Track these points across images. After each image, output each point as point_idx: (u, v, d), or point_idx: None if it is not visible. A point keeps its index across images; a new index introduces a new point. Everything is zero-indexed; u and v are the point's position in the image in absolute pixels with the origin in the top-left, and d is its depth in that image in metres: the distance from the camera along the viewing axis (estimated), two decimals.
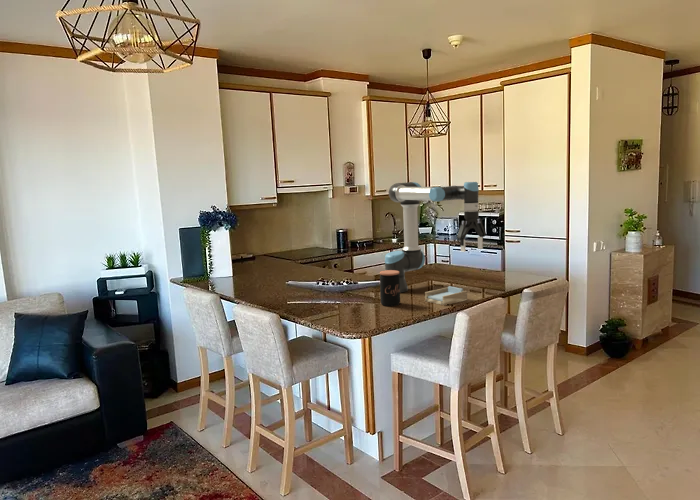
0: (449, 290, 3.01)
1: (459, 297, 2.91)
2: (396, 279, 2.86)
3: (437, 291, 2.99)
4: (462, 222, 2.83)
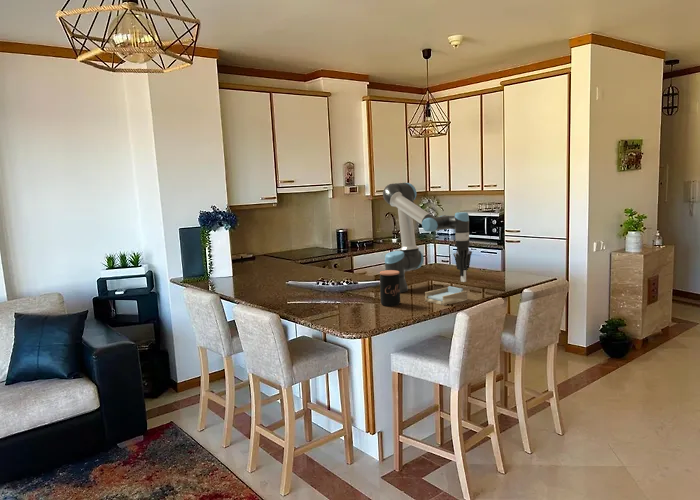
0: (449, 290, 3.01)
1: (459, 297, 2.91)
2: (396, 279, 2.86)
3: (437, 291, 2.99)
4: (455, 255, 2.96)
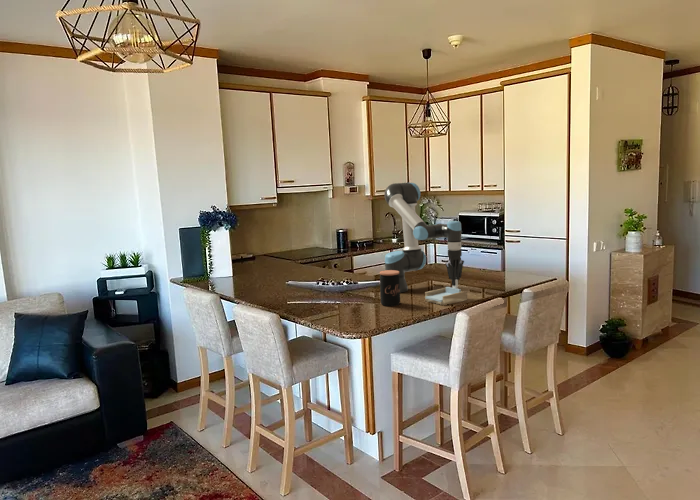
0: (447, 290, 3.01)
1: (459, 297, 2.91)
2: (396, 279, 2.86)
3: (437, 291, 2.99)
4: (447, 265, 2.93)
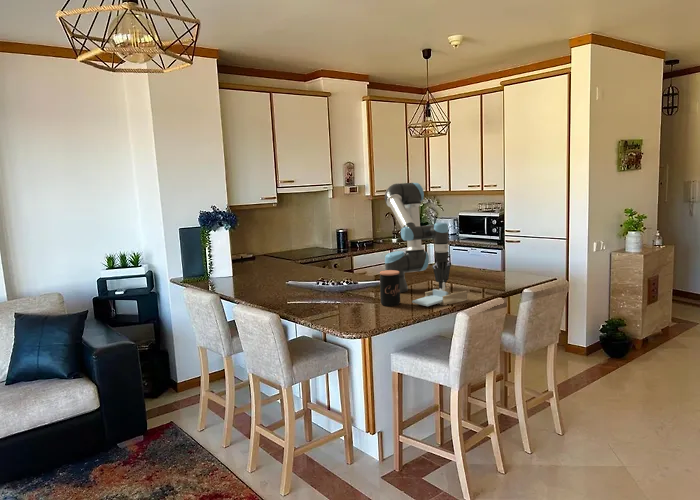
0: (434, 293, 2.95)
1: (459, 297, 2.91)
2: (396, 279, 2.86)
3: None
4: (433, 267, 2.87)
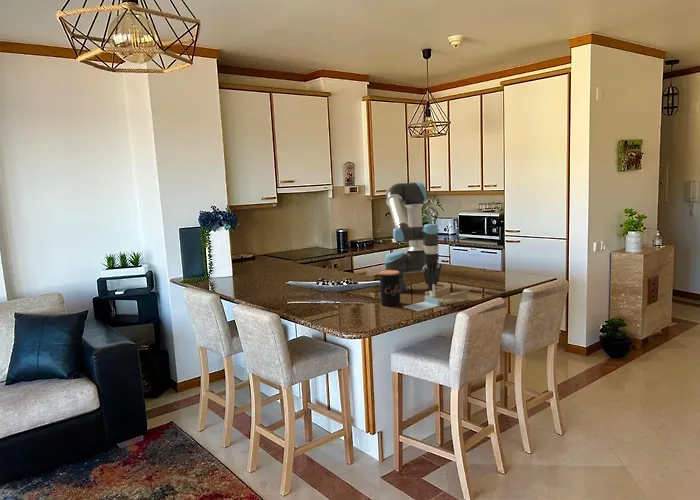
0: (426, 300, 2.91)
1: (459, 297, 2.91)
2: (396, 279, 2.86)
3: (437, 291, 2.99)
4: (423, 269, 2.83)
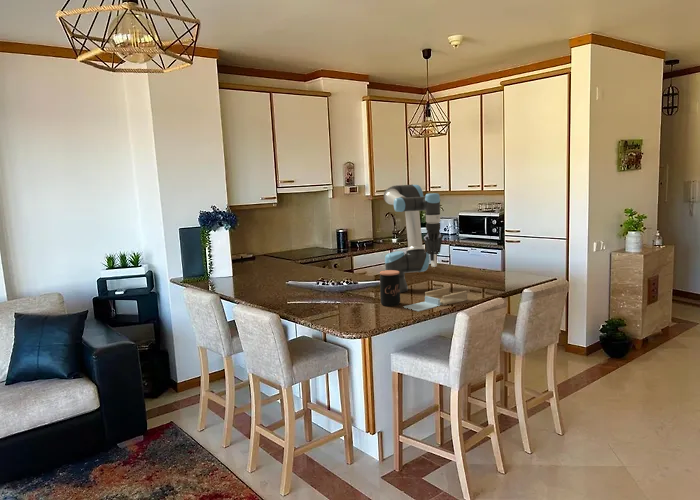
0: (426, 300, 2.91)
1: (459, 297, 2.91)
2: (396, 279, 2.86)
3: (437, 291, 2.99)
4: (425, 238, 2.82)
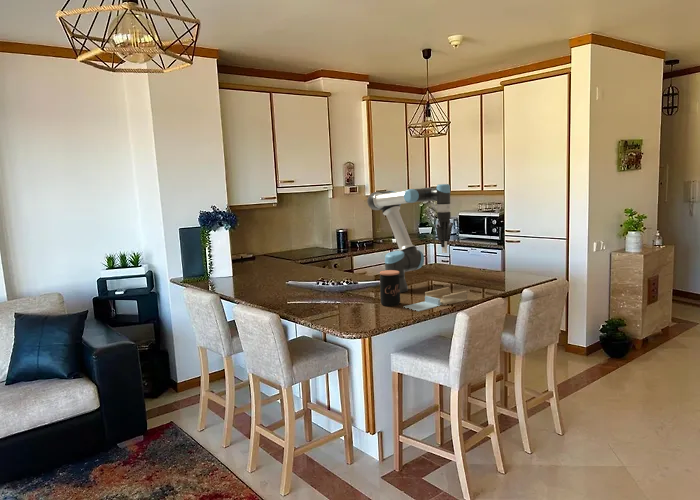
0: (426, 300, 2.91)
1: (459, 297, 2.91)
2: (396, 279, 2.86)
3: (437, 291, 2.99)
4: (436, 226, 3.02)
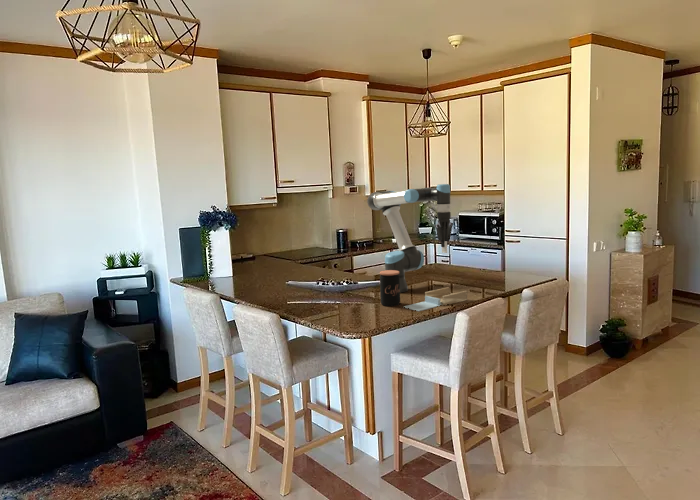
0: (426, 300, 2.91)
1: (459, 297, 2.91)
2: (396, 279, 2.86)
3: (437, 291, 2.99)
4: (436, 226, 3.02)
